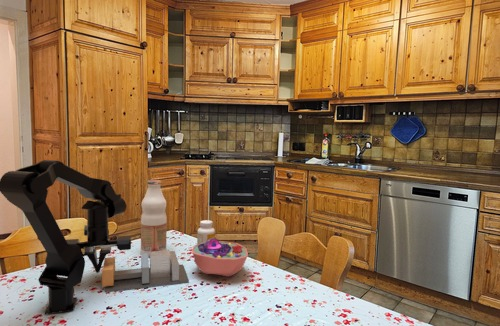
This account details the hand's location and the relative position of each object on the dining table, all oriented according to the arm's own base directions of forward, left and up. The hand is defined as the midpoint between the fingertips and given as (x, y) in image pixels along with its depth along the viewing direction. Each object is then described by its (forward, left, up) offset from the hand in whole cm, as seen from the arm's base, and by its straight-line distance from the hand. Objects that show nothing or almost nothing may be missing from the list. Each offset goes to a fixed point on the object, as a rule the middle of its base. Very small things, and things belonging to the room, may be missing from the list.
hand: (97, 272), depth 100 cm
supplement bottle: (+16, -36, -4) cm, 40 cm away
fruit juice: (+22, -17, -4) cm, 28 cm away
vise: (0, -14, -3) cm, 15 cm away
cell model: (-2, -37, -4) cm, 38 cm away
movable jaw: (0, -8, -2) cm, 8 cm away
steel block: (0, -18, -3) cm, 18 cm away
